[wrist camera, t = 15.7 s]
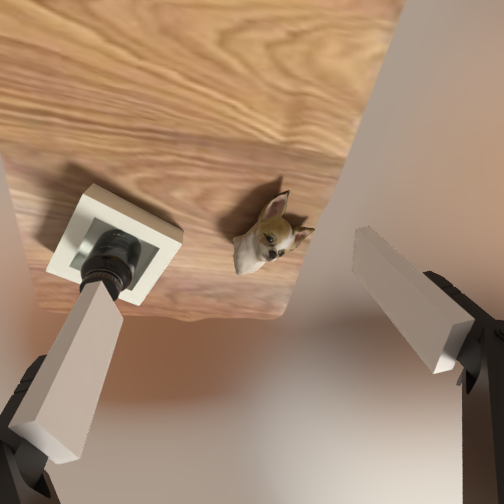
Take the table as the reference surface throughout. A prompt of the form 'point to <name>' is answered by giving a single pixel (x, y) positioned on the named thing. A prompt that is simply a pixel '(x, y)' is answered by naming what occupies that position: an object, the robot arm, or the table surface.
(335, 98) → the table surface
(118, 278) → the supplement bottle
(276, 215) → the ceramic sculpture
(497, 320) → the robot arm
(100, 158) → the table surface
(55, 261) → the holder
